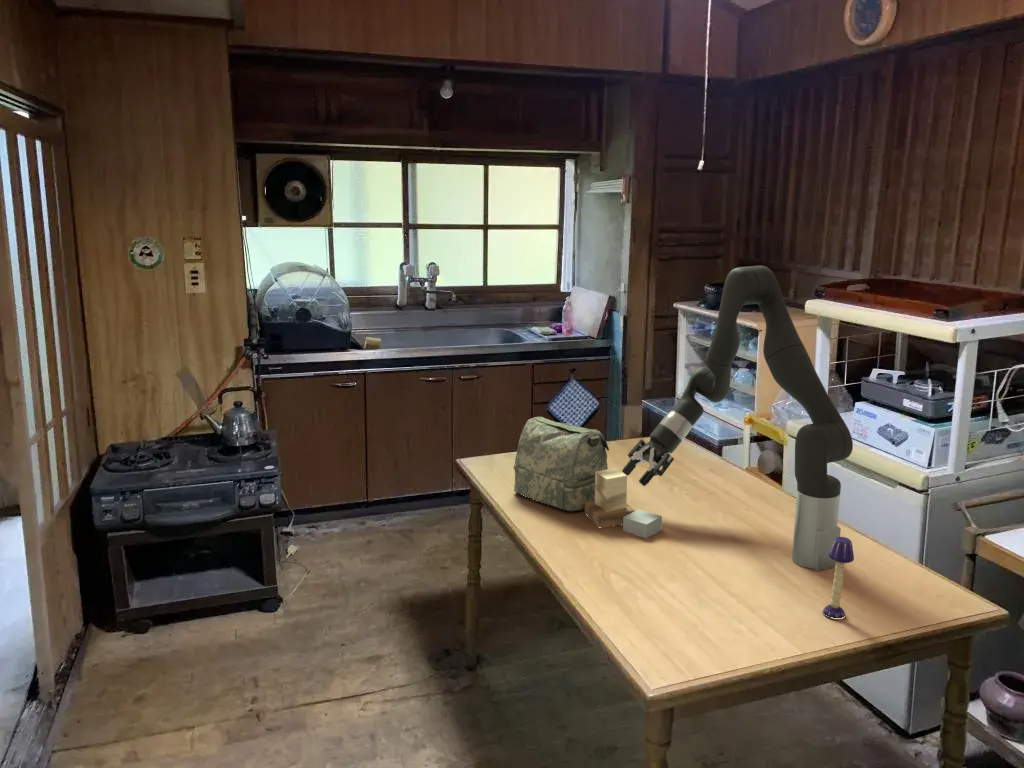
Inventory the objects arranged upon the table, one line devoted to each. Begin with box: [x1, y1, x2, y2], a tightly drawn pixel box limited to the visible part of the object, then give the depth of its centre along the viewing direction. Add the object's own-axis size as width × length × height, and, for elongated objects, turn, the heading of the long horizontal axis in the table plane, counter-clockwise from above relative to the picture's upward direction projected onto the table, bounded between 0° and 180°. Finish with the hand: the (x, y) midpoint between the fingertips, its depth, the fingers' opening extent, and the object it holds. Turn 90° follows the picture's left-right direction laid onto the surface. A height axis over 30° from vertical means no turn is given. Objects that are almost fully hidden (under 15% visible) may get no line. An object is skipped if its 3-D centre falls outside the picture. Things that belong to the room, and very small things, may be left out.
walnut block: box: [584, 500, 636, 528], centre depth 211 cm, size 10×10×4 cm
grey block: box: [622, 508, 663, 539], centre depth 203 cm, size 7×7×4 cm
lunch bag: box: [513, 416, 610, 512], centre depth 224 cm, size 26×18×22 cm
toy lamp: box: [822, 536, 855, 618], centre depth 160 cm, size 5×5×17 cm
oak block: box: [595, 468, 628, 512], centre depth 209 cm, size 6×6×9 cm
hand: (632, 478), depth 211 cm, fingers open, 8 cm apart
